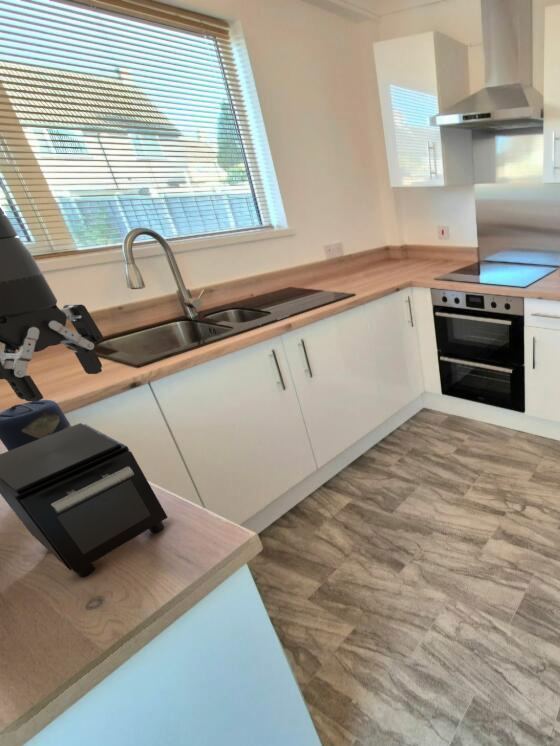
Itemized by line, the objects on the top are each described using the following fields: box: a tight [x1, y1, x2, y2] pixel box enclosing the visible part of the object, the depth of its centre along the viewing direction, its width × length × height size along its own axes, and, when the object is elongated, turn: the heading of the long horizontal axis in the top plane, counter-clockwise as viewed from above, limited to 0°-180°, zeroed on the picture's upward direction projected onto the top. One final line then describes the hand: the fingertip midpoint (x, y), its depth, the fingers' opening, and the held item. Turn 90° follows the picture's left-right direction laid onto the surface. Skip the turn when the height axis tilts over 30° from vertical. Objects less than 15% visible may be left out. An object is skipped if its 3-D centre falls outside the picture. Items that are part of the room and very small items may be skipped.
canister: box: [0, 399, 72, 451], centre depth 86 cm, size 10×10×18 cm
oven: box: [0, 422, 165, 579], centre depth 70 cm, size 16×13×18 cm
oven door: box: [20, 449, 168, 574], centre depth 65 cm, size 5×13×14 cm, turn 151°
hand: (66, 385), depth 63 cm, fingers open, 8 cm apart
